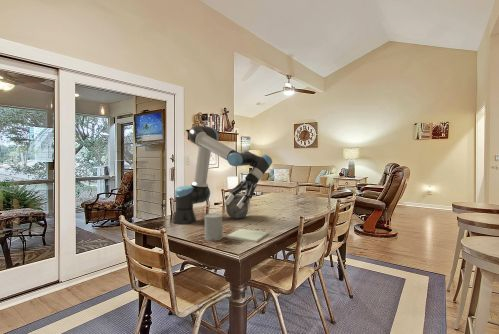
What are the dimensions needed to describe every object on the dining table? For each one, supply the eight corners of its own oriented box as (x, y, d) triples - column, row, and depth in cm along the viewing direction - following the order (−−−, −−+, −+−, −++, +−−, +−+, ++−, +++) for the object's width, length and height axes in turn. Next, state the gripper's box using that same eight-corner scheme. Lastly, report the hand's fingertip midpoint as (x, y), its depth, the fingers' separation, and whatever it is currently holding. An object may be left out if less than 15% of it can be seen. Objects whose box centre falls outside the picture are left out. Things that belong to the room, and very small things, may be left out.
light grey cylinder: (214, 241, 143) (214, 218, 142) (201, 238, 148) (200, 216, 147) (226, 237, 151) (225, 214, 150) (212, 234, 156) (212, 212, 155)
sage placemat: (226, 237, 149) (226, 236, 149) (240, 230, 164) (240, 228, 163) (256, 242, 141) (256, 240, 141) (268, 234, 156) (268, 232, 156)
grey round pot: (218, 218, 194) (218, 197, 194) (234, 213, 209) (233, 194, 208) (238, 221, 184) (238, 199, 184) (253, 216, 199) (253, 196, 198)
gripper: (270, 182, 153) (248, 213, 145) (246, 179, 174) (225, 206, 166) (262, 173, 150) (239, 204, 142) (238, 171, 171) (217, 198, 163)
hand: (232, 205), depth 154 cm, fingers open, 13 cm apart
